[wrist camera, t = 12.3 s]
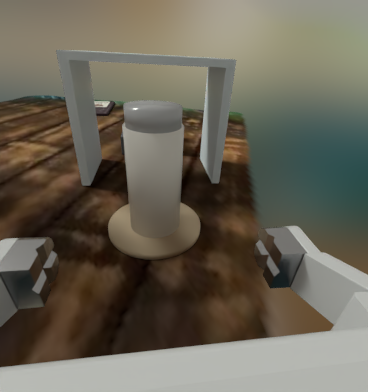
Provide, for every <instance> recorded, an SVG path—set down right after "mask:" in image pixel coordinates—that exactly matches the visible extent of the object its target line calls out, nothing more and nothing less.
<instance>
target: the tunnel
mask: <svg viewBox="0 0 368 392" xmlns="http://www.w3.org/2000/svg"><path fill="white" fill-rule="evenodd" d="M56 52H57V58H58V63H59V68H60V73H61V78H62V84H63V89H64V94H65V99H66V104H67V109H68V114H69V120H70V125H71V130H72V135H73V140H74V145H75V150H76V156H77V161H78V166H79V171H80V176H81V181H82V186H89V185H91V183H92V181H93V179H94V176H95V174H96V172H97V169H98V167H99V165H100V163H101V160H102V154H101V147H100V140H99V132H98V125H97V118H96V110H95V103H94V97H93V89H92V81H91V74H90V67H89V61H99V62H100V61H101V62H119V63H139V64H159V65H180V66H200V67H208V72H207V84H206V96H205V106H204V118H203V129H202V140H201V152H200V160H201V162H202V164H203V166H204V168H205V170H206V172H207V174H208V176H209V178H210V180H211V182H212V183H219V180H220V173H221V165H222V158H223V151H224V144H225V137H226V129H227V122H228V115H229V108H230V101H231V94H232V86H233V79H234V71H235V65H236V60H233V59H221V58H206V57H205V58H204V57H187V56H168V55H150V54H133V53H115V52H97V51H78V50H56Z"/></svg>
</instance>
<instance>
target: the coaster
mask: <svg viewBox="0 0 368 392" xmlns="http://www.w3.org/2000/svg"><path fill="white" fill-rule="evenodd" d="M108 232H109V238H110V240H111V242H112V244H113V245H114V246H115V247H116V248H117V249H118V250H119V251H121V252H122V253H124V254H126V255H129V256H131V257H135V258H138V259H145V260H160V259H166V258H170V257H174V256H177V255H179V254H181V253H183V252H185V251H187V250H188V249H189V248H191V247H192V246H193V245H194V244H195V242H196V241H197V239H198V237H199V234H200V220H199V217H198V215H197V214H196V213H195V212H194V211H193V210H192V209H191V208H190V207H188V206H187V205H185V204H183V203H180V222H179V227H178V229H177V230H176V231H175V232H174V233H172V234H170V235H168V236H165V237H161V238H147V237H143V236H140V235H138V234H137V233H135V232H134V231H133V230H132V228H131V222H130V211H129V204H127V205H125V206H123V207H122V208H120V209H119V210H117V211H116V212H115V213H114V214H113V216H112V217H111V219H110V221H109V224H108Z"/></svg>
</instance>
